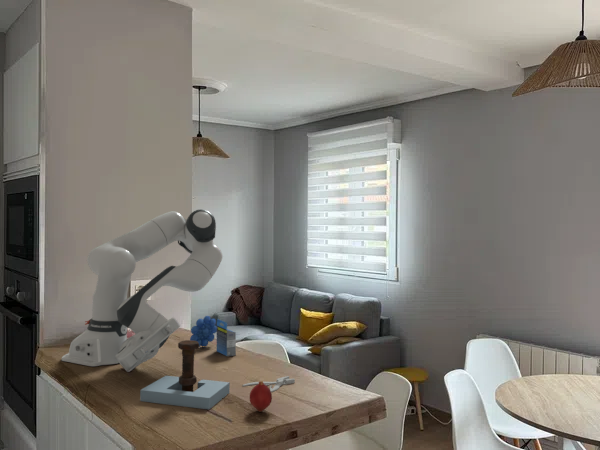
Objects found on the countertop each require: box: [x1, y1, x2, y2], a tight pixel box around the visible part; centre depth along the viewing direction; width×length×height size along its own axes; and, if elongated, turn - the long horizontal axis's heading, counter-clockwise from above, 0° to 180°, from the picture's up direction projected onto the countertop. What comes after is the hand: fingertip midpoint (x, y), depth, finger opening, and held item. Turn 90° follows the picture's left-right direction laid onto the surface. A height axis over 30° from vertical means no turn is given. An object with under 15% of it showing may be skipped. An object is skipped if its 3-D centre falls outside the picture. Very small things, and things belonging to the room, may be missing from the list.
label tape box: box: [216, 318, 237, 357], centre depth 198 cm, size 9×4×12 cm, turn 34°
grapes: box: [189, 315, 217, 348], centre depth 206 cm, size 12×7×12 cm, turn 131°
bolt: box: [177, 339, 200, 392], centre depth 149 cm, size 6×5×15 cm
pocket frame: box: [139, 375, 231, 410], centre depth 149 cm, size 20×14×3 cm
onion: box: [249, 380, 273, 412], centre depth 140 cm, size 6×6×8 cm
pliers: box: [241, 375, 296, 393], centre depth 161 cm, size 10×2×15 cm
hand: (157, 339), depth 155 cm, fingers open, 8 cm apart
